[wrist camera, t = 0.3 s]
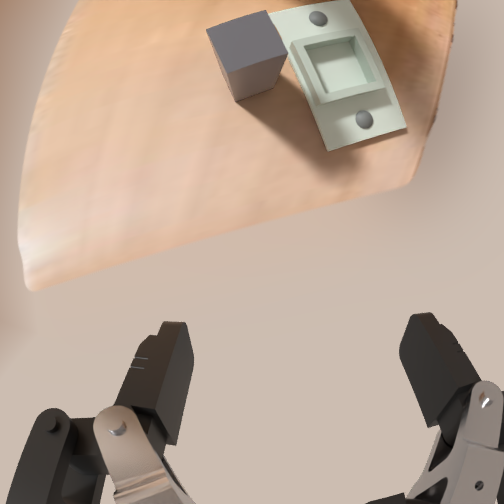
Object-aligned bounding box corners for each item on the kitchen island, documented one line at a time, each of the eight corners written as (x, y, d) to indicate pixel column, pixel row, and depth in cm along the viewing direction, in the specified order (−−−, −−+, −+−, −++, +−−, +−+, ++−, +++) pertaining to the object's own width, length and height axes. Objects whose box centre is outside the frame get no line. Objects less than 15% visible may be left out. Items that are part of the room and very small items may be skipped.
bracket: (266, 17, 27) (268, 5, 24) (346, 2, 25) (354, -9, 22) (327, 151, 34) (334, 151, 30) (403, 127, 32) (416, 126, 29)
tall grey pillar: (221, 72, 30) (205, 29, 17) (260, 57, 29) (267, 9, 16) (235, 102, 31) (226, 73, 18) (274, 87, 31) (290, 52, 18)
